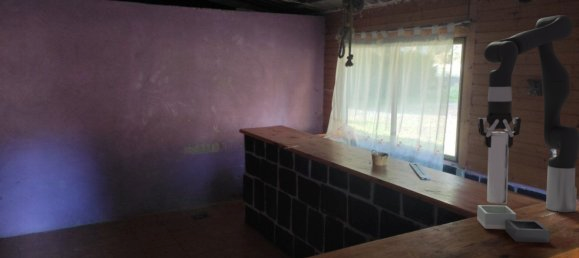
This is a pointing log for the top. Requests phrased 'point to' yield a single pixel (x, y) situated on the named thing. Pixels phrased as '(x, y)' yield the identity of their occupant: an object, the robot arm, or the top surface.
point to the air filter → (498, 168)
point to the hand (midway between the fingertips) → (498, 147)
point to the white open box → (494, 216)
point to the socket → (527, 231)
